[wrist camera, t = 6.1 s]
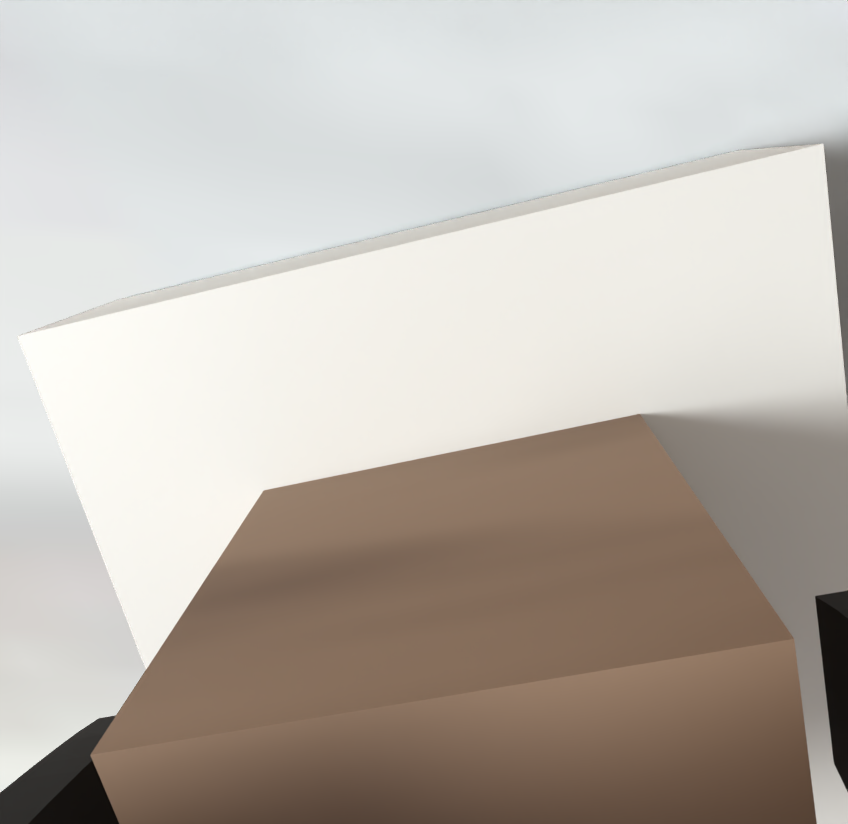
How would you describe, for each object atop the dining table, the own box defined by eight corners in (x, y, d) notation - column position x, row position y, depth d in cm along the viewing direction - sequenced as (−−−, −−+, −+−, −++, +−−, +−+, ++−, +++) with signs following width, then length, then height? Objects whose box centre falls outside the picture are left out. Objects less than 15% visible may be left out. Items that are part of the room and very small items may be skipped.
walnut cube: (694, 740, 11) (857, 1158, 7) (358, 791, 12) (281, 1208, 7) (640, 413, 10) (794, 638, 5) (263, 490, 11) (89, 754, 6)
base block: (805, 709, 14) (887, 842, 12) (287, 789, 16) (245, 927, 13) (738, 150, 12) (823, 144, 9) (118, 299, 13) (17, 336, 10)
